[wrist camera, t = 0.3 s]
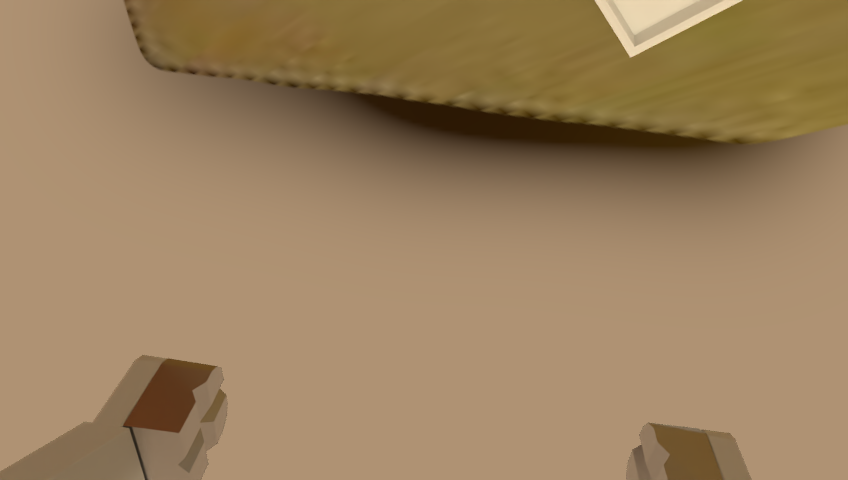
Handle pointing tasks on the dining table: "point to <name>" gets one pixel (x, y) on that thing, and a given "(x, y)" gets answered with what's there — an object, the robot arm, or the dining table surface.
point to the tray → (656, 19)
